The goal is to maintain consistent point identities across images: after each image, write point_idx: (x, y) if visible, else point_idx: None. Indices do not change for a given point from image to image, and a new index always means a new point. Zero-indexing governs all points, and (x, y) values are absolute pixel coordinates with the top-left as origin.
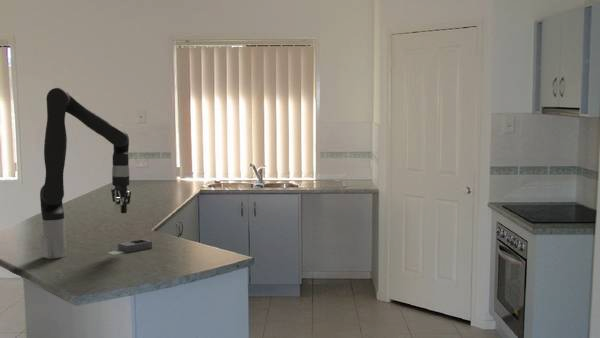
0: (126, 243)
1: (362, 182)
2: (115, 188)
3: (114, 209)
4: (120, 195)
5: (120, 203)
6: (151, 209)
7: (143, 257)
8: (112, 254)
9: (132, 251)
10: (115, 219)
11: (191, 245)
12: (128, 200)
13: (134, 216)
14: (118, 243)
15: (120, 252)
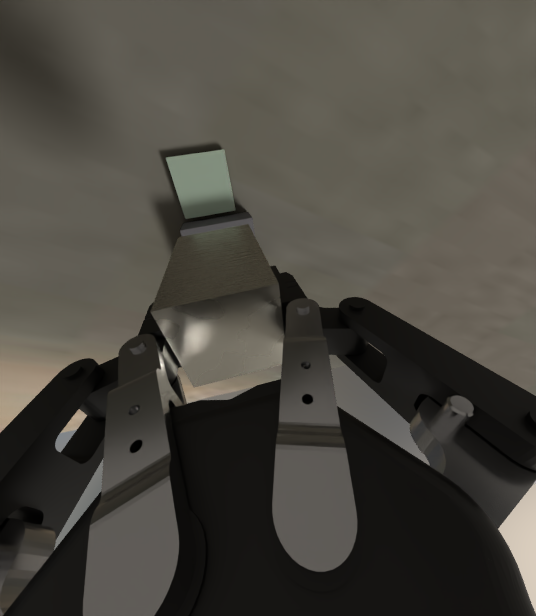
0: None
1: None
2: (450, 577)
3: (262, 256)
4: (103, 460)
5: (260, 340)
6: (526, 383)
7: (93, 252)
8: (175, 156)
9: None
10: (236, 230)
11: None
12: (86, 435)
13: (525, 354)
14: (250, 219)
15: (193, 200)
